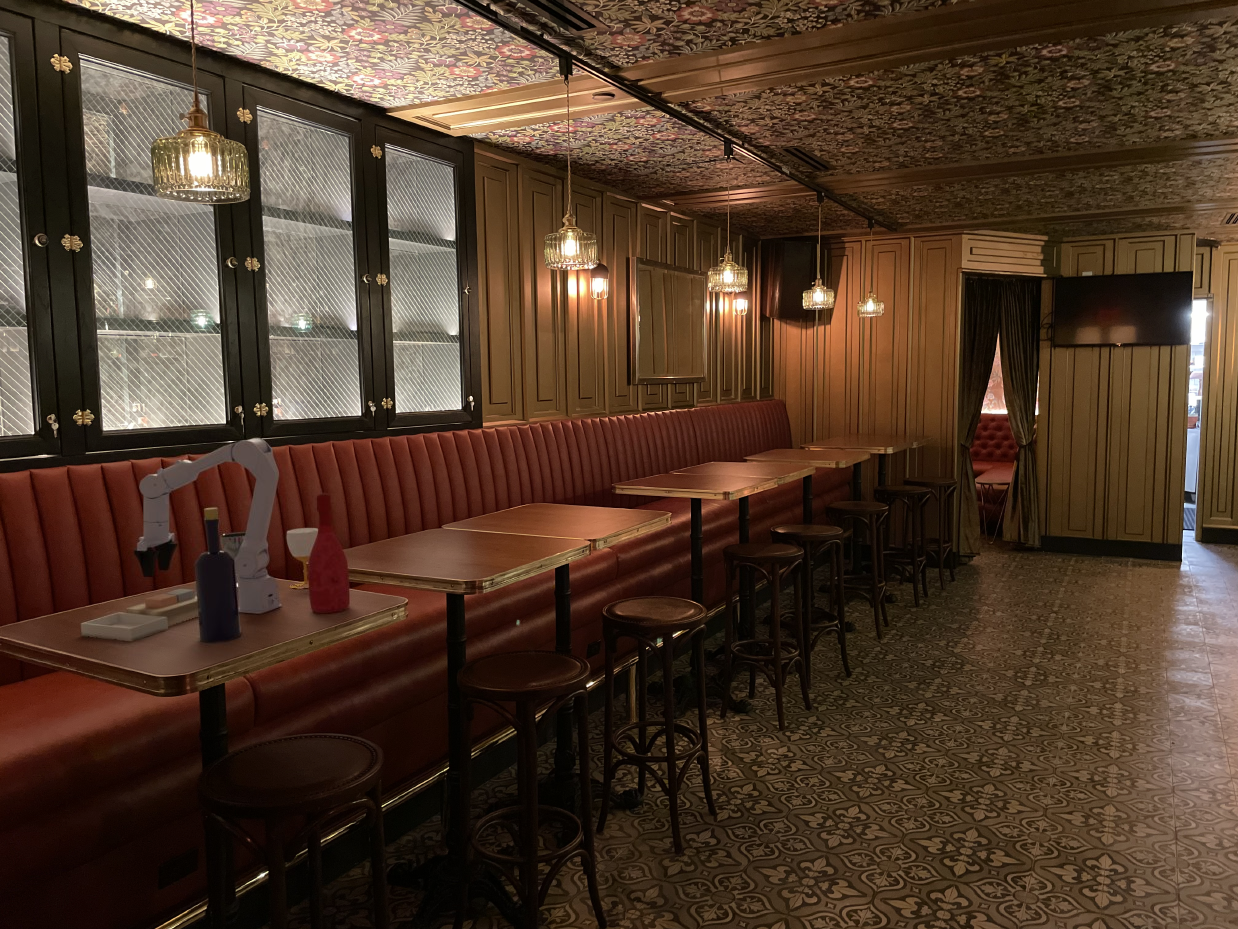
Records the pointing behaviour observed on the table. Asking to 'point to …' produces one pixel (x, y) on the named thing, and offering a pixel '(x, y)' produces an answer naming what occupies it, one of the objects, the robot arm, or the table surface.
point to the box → (124, 626)
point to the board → (169, 611)
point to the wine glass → (232, 543)
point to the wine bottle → (327, 566)
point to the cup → (301, 547)
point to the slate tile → (182, 594)
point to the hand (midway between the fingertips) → (156, 573)
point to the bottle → (216, 588)
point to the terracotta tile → (160, 601)
